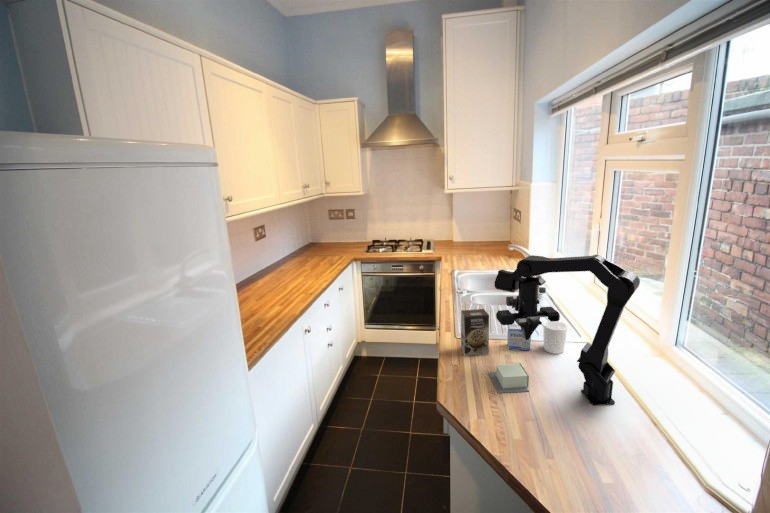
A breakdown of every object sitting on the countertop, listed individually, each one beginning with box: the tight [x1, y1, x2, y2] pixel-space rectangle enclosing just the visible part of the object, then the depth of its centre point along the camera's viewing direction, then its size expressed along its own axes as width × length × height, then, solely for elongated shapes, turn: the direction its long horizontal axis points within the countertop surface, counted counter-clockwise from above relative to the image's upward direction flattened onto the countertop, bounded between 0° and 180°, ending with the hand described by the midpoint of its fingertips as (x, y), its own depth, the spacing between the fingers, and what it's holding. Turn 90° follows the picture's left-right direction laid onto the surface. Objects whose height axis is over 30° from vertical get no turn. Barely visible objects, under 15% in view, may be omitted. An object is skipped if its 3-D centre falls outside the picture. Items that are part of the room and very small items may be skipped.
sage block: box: [495, 363, 530, 388], centre depth 113 cm, size 4×7×8 cm
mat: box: [488, 371, 530, 394], centre depth 114 cm, size 9×11×1 cm
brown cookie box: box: [460, 308, 490, 357], centre depth 131 cm, size 9×6×16 cm
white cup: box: [542, 320, 568, 355], centre depth 129 cm, size 8×8×10 cm
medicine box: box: [507, 324, 532, 351], centre depth 133 cm, size 8×4×9 cm, turn 76°
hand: (526, 339), depth 116 cm, fingers closed
